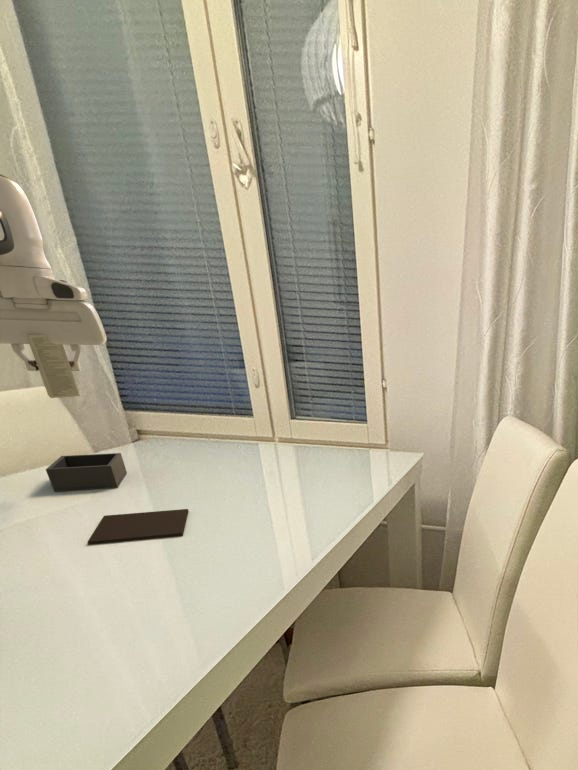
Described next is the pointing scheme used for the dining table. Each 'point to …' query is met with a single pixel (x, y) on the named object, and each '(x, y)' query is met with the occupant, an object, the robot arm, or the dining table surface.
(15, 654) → the dining table surface
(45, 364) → the box
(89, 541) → the mat
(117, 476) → the bin
